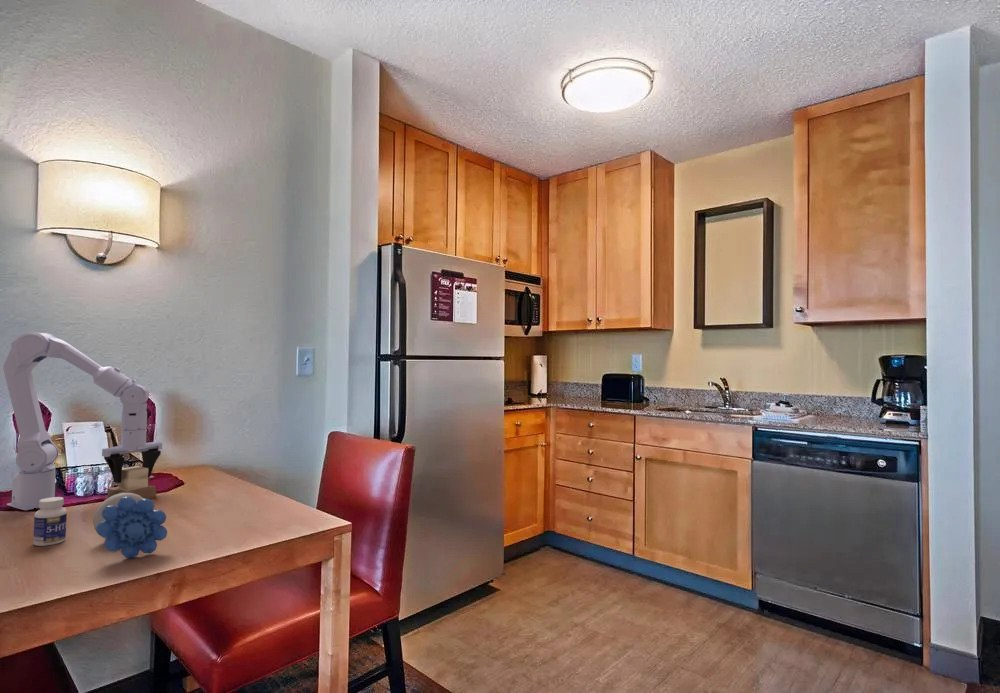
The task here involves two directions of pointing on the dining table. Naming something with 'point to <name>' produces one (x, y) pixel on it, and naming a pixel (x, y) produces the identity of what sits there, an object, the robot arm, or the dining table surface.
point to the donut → (113, 502)
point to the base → (135, 492)
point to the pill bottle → (50, 522)
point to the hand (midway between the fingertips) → (132, 479)
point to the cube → (134, 478)
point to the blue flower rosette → (132, 527)
